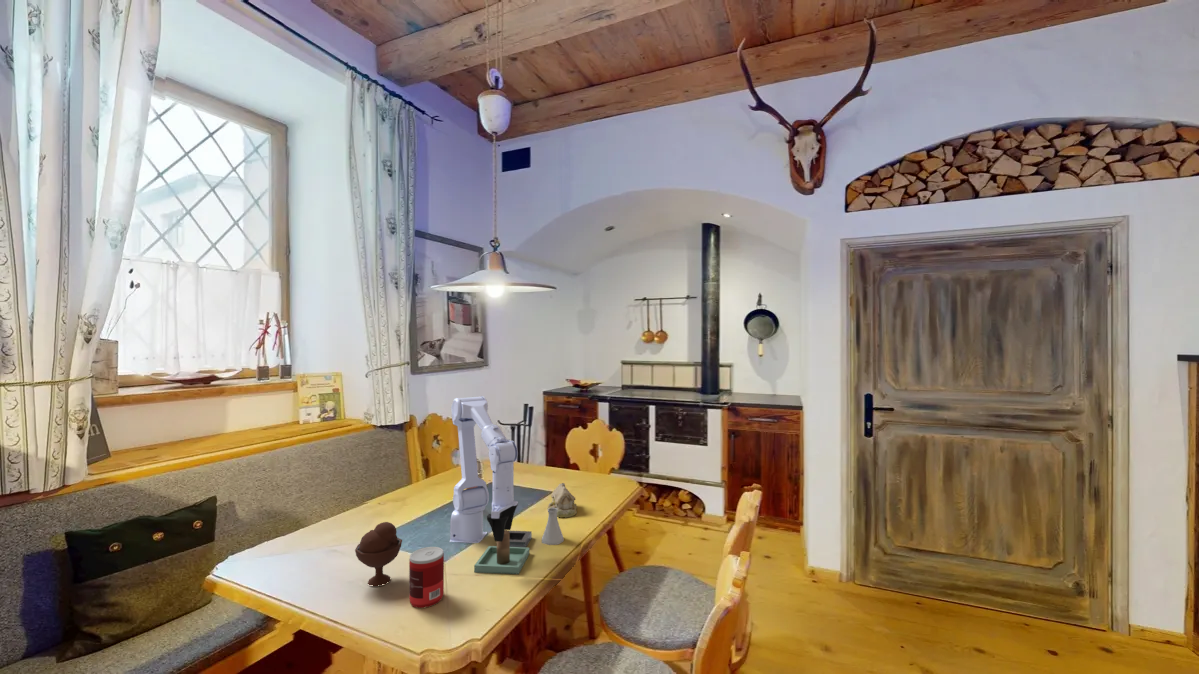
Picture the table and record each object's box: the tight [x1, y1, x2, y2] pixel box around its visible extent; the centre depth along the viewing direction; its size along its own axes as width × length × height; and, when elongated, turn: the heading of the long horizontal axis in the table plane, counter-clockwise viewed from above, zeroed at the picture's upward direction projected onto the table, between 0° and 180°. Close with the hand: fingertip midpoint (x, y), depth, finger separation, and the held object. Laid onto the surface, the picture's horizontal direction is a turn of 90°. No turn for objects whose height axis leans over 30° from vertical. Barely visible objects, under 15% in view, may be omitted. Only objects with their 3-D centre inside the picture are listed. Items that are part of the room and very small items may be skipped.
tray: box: [473, 545, 530, 575], centre depth 132 cm, size 12×12×2 cm
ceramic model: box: [547, 482, 578, 518], centre depth 174 cm, size 14×11×10 cm
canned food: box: [408, 546, 445, 609], centre depth 114 cm, size 8×8×11 cm
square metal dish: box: [508, 530, 533, 548], centre depth 145 cm, size 8×8×2 cm
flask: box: [541, 508, 565, 546], centre depth 147 cm, size 7×7×10 cm
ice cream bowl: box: [354, 521, 403, 586], centre depth 123 cm, size 11×11×15 cm
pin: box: [496, 530, 510, 565], centre depth 132 cm, size 4×4×8 cm
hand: (502, 535), depth 132 cm, fingers open, 7 cm apart
